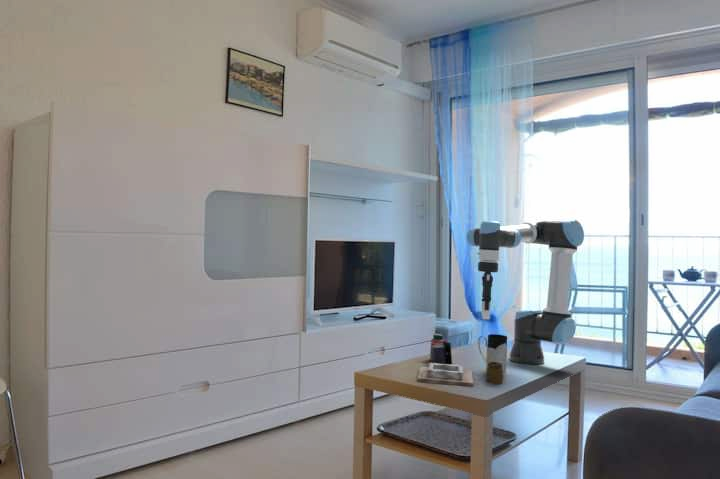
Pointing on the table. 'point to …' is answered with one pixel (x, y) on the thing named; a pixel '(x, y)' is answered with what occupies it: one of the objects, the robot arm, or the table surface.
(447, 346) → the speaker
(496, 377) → the utensil holder
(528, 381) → the table surface
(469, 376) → the socket plate
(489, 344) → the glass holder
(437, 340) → the supplement bottle
